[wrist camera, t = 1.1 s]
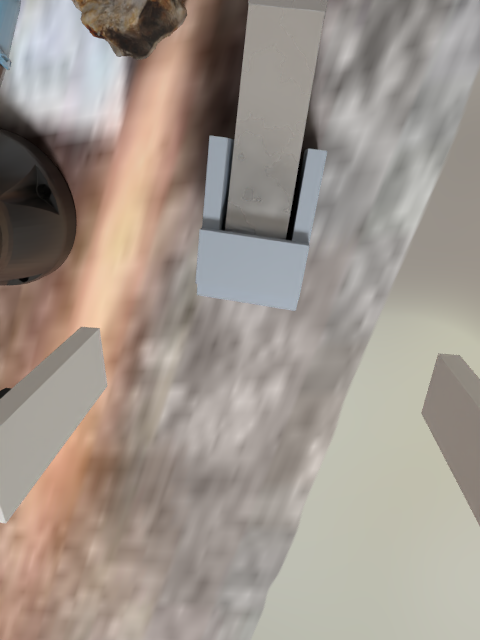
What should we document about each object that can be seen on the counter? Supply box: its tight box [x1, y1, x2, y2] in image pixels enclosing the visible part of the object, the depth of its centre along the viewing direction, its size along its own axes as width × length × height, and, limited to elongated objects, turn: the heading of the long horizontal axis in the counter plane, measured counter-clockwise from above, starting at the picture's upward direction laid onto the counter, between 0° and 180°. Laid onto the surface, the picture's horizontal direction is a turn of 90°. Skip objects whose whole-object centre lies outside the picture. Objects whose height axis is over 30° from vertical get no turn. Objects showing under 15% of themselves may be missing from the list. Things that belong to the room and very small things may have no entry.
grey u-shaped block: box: [196, 136, 327, 311], centre depth 31 cm, size 8×11×11 cm
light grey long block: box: [225, 0, 328, 240], centre depth 30 cm, size 5×18×9 cm, turn 173°
